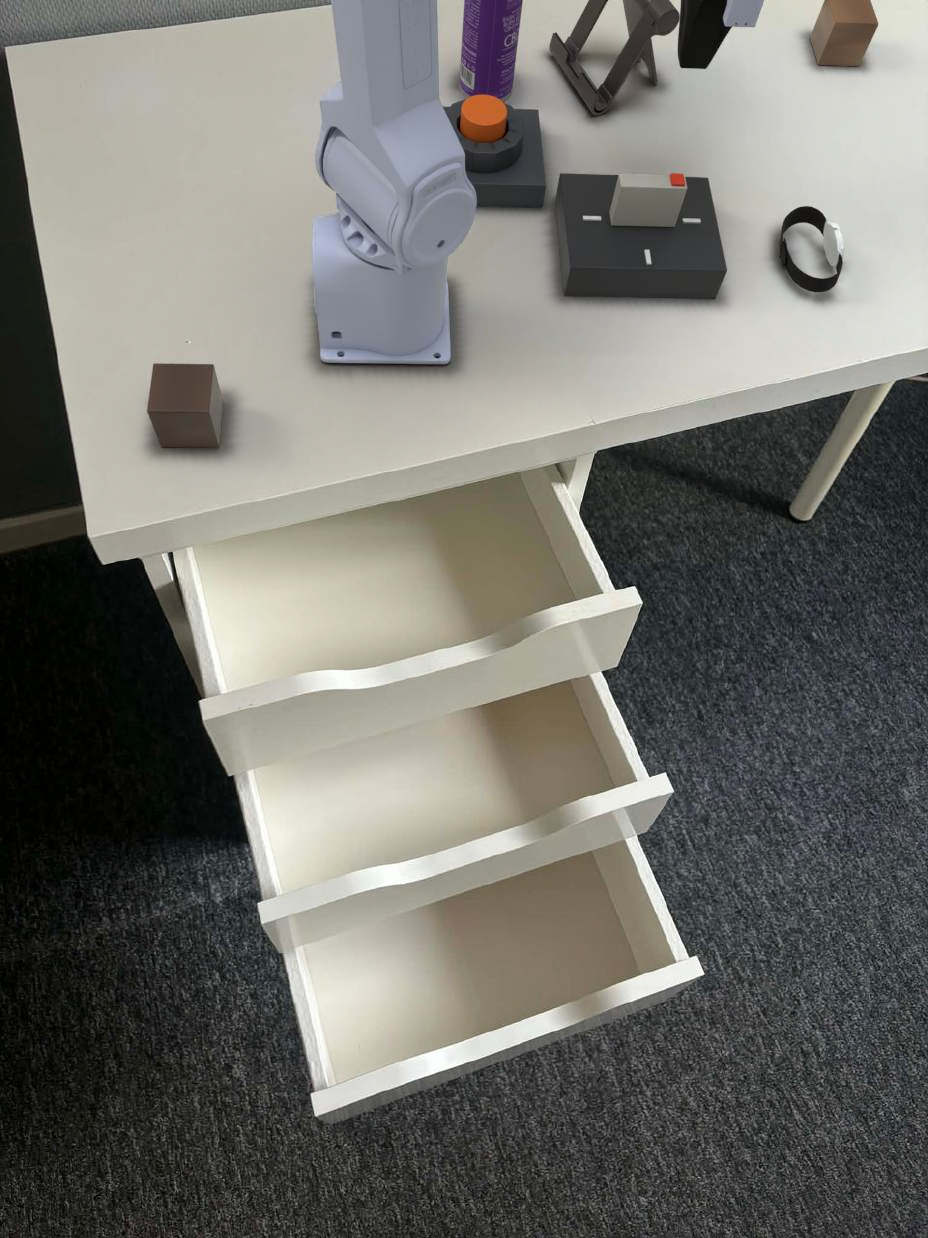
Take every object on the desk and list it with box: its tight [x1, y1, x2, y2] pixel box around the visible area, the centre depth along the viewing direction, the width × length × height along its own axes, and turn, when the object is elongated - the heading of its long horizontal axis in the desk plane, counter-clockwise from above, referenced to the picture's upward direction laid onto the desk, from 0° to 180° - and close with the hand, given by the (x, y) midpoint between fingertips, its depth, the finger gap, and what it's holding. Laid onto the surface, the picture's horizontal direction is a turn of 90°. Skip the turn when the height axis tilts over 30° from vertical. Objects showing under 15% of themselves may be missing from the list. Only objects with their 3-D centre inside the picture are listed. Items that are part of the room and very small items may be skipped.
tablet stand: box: [548, 0, 680, 117], centre depth 81 cm, size 9×8×8 cm
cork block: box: [809, 0, 879, 67], centre depth 87 cm, size 4×4×4 cm
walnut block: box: [146, 362, 224, 449], centre depth 64 cm, size 4×4×4 cm
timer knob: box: [609, 172, 687, 227], centre depth 71 cm, size 5×1×4 cm, turn 92°
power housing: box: [442, 98, 547, 209], centre depth 77 cm, size 10×9×4 cm
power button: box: [460, 95, 507, 143], centre depth 75 cm, size 4×4×2 cm
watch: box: [778, 205, 845, 293], centre depth 75 cm, size 8×5×4 cm, turn 8°
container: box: [458, 0, 524, 103], centre depth 76 cm, size 5×5×15 cm
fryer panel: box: [554, 172, 728, 300], centre depth 74 cm, size 12×10×3 cm
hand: (692, 62), depth 70 cm, fingers closed
